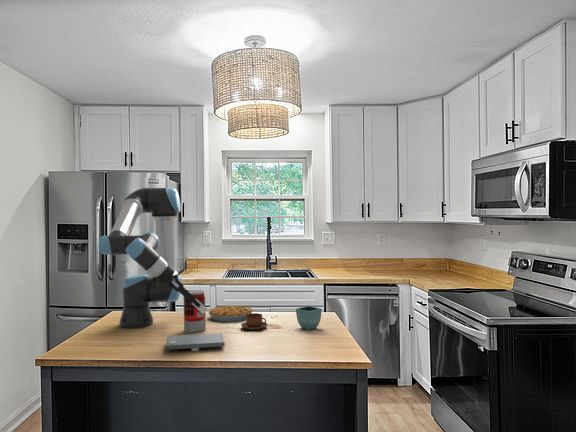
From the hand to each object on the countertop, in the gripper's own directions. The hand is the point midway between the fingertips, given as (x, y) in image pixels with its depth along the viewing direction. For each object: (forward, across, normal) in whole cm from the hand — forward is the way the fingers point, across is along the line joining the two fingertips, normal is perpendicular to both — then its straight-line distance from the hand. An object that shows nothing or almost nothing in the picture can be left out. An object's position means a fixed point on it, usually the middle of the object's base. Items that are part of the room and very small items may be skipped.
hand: (203, 309), depth 187 cm
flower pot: (+46, -10, +25) cm, 53 cm away
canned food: (0, 0, -5) cm, 5 cm away
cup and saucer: (+30, -20, +9) cm, 37 cm away
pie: (+27, -45, +6) cm, 53 cm away
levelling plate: (+8, 0, -12) cm, 15 cm away
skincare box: (+11, -26, -10) cm, 30 cm away
